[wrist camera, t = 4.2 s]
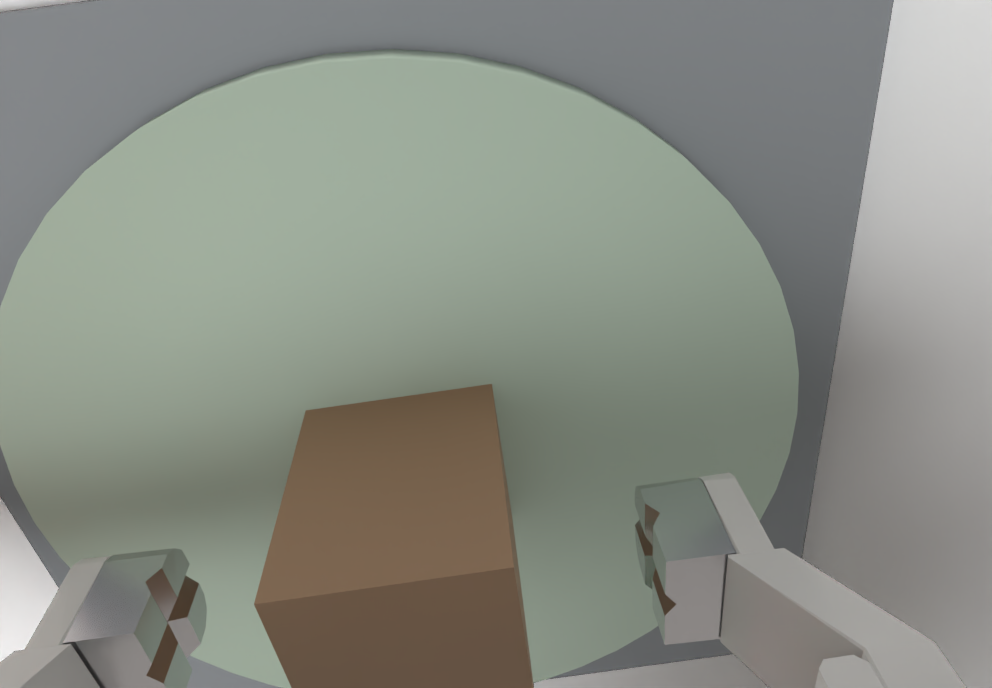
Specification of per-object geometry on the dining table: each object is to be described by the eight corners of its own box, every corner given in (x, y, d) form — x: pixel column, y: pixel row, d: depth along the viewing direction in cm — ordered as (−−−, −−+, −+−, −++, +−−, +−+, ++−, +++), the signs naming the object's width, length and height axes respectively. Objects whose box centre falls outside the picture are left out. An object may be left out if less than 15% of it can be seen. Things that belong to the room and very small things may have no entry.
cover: (820, -18, 10) (1089, 26, 6) (754, 624, 17) (855, 846, 13) (-165, 123, 10) (-586, 266, 6) (182, 706, 17) (102, 953, 13)
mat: (889, -103, 10) (910, -104, 9) (778, 629, 18) (787, 646, 18) (-254, 45, 10) (-286, 51, 9) (158, 713, 18) (151, 733, 18)
